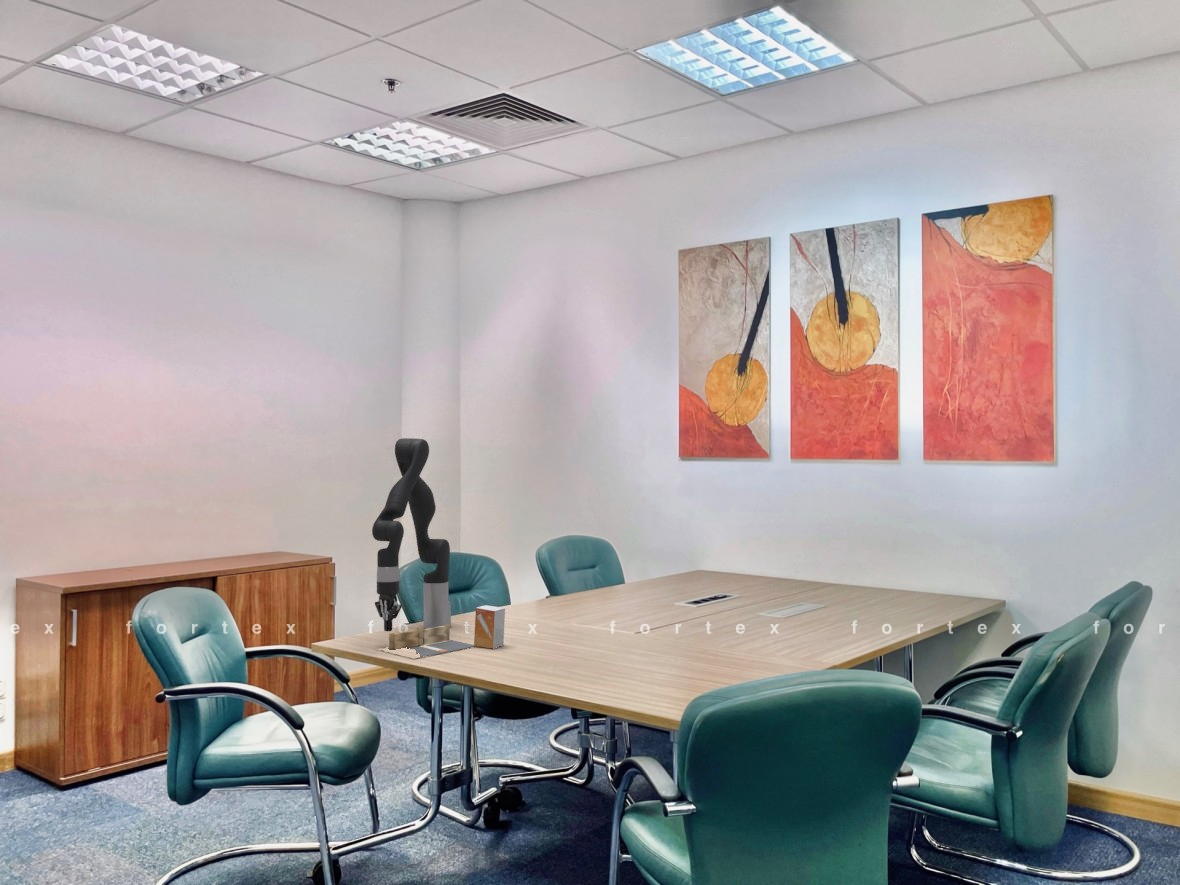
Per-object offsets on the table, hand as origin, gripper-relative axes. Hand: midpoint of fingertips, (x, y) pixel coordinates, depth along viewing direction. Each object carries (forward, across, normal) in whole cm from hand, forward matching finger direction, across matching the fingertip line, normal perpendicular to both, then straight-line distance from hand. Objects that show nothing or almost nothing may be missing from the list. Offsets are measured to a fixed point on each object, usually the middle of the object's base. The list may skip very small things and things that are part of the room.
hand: (388, 630), depth 329 cm
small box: (+6, -24, -24) cm, 34 cm away
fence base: (+5, -7, -14) cm, 16 cm away
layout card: (+6, -11, -8) cm, 15 cm away
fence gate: (+5, -7, -2) cm, 9 cm away
